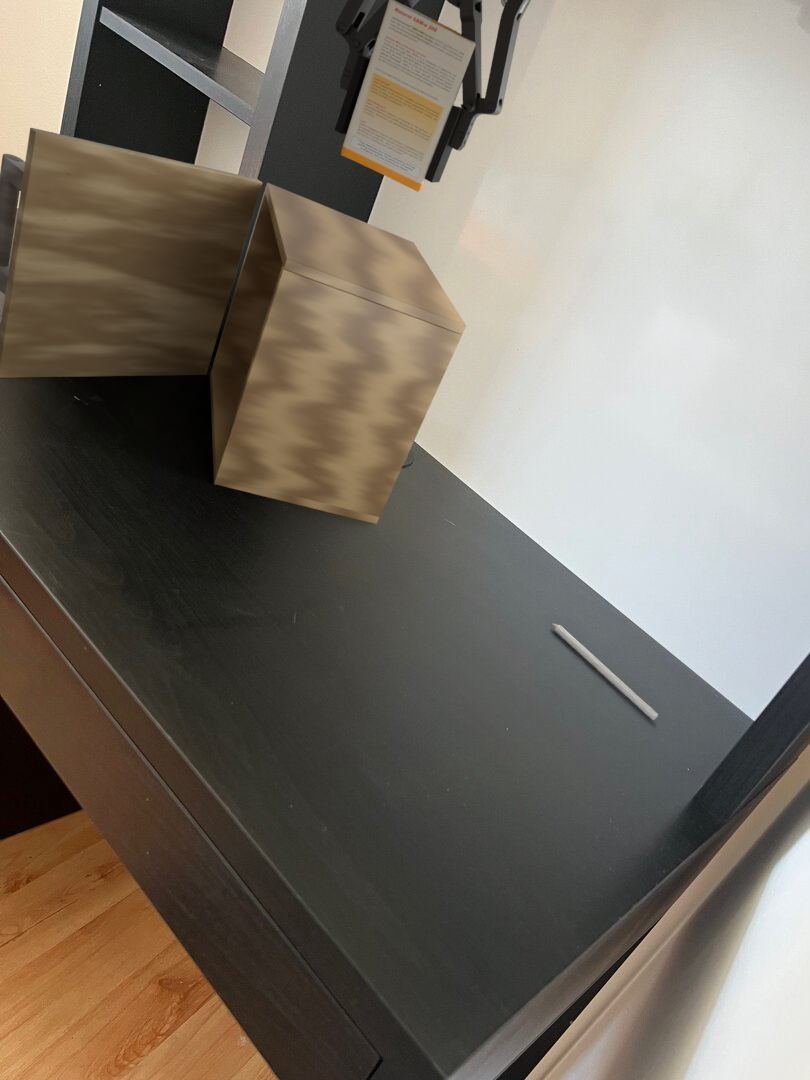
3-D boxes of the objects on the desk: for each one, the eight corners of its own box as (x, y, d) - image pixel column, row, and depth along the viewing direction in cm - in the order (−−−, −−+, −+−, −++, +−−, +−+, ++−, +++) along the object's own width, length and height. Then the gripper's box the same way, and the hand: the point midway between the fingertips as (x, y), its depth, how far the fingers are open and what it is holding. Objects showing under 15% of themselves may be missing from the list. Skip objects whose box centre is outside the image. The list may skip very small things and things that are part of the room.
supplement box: (422, 187, 84) (478, 43, 77) (419, 194, 80) (478, 43, 73) (344, 149, 82) (395, -2, 76) (337, 154, 78) (390, -5, 72)
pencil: (555, 620, 93) (659, 715, 86) (549, 626, 93) (653, 721, 87) (553, 618, 92) (658, 713, 86) (548, 624, 92) (652, 720, 86)
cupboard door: (-42, 337, 88) (-12, 94, 75) (168, 342, 108) (218, 151, 96) (-2, 377, 85) (36, 131, 73) (206, 375, 105) (262, 182, 93)
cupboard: (213, 484, 86) (286, 258, 74) (209, 375, 106) (267, 182, 94) (376, 524, 94) (466, 325, 82) (344, 416, 114) (413, 242, 101)
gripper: (357, -207, 66) (270, 99, 77) (602, -76, 66) (478, 212, 77) (388, -174, 72) (303, 104, 84) (611, -55, 72) (495, 208, 84)
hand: (387, 156), depth 80 cm, fingers closed on supplement box, 9 cm apart
